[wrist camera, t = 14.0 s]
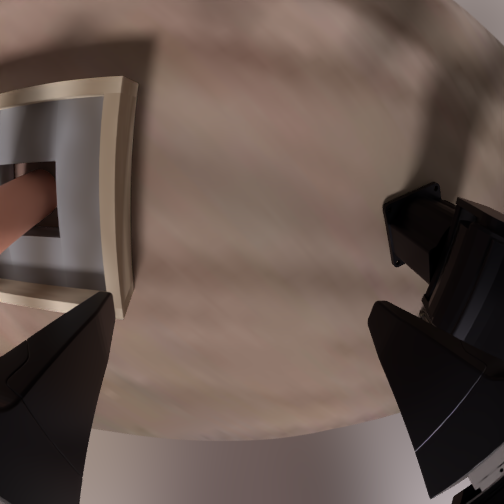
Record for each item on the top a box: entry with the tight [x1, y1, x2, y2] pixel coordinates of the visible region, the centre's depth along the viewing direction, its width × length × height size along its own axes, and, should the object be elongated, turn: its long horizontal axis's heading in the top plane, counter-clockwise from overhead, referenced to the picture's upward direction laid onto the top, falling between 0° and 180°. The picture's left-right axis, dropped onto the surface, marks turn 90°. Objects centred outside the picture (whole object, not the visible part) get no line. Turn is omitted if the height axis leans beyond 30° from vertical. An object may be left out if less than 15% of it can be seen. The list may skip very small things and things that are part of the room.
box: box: [0, 76, 139, 320], centre depth 16 cm, size 16×16×4 cm
